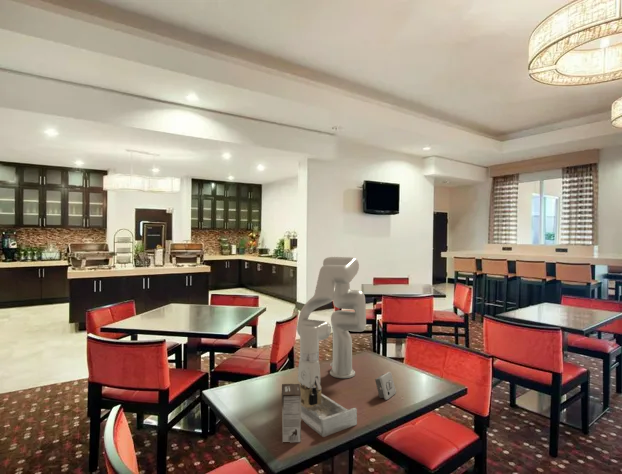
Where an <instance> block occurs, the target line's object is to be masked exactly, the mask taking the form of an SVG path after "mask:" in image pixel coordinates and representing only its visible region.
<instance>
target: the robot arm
mask: <svg viewBox="0 0 622 474" xmlns="http://www.w3.org/2000/svg"><path fill="white" fill-rule="evenodd" d="M322 264H323V265H322V266H321V267H320V269H319V272H318V277H317V280H316V286H315V290H314V295H313V296H311V298H310V299H309V300H307V301H306V302H305V304H304V305H303V307H302V308H301V310H300V312H299V315H298V319H297V326H296V332H297V334H298V336H299V359H298V367H297V381H298V383H299V384H300V385H304V386H306V387H308V388H310V392H311V395H310V405H315V404H317V394H318V392H319V391H320V390H321V391H322V385H321V369H320V361H319V360H320V341H324V340H327V339H328V338H329V337H330V336H331V333H332V362H330V363H329V365H330V367H331V369H330V371H329V375H330V376H331V377H334V378H335V379H336V378H337V379H351V378H353V377H355V375H356V371H355V370H354V369H353V338H352V336H351V333H350V332H359V333H361V332H364V331H365V330H366V327H367V309H366V308H367V307H366V296H365V294H364V292H363V291H361V290H358V289H351V288H350V283H351V282H352V280H353V279H354V278H355V277H356V276H357V274H358V272H359V269H360V268H359V267H360V264H359V260H358V258H355V257H351V256H348V257H347V256H328V257H325V258H324V259H323V261H322ZM332 302H333V306H334V307H335V308H338V310H335V311H333V312H332V313H331V316H330V323H329V322H328V321H326V320H325V321H324V320H318V319H317V320H316V319H309V317H310V315H311V314H312V313H313V312H314V311H315V310H316V309H318V308H320V307H322V306H325V305H328V304H330V303H332ZM339 309H340V310H339ZM341 309H342V310H341ZM343 309H345V310H343ZM351 310H353V311H351ZM349 331H350V332H349ZM314 384H315V386H314ZM320 385H321V386H320ZM313 388H315V390H314V391H313Z"/></svg>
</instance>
